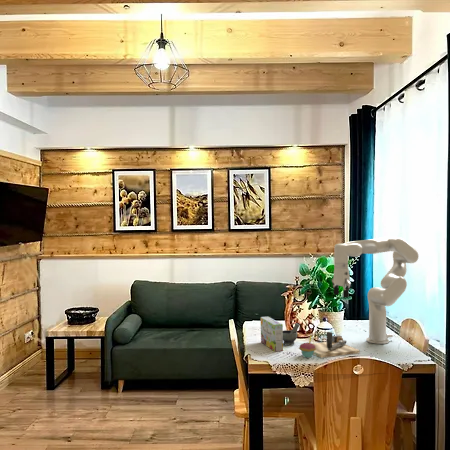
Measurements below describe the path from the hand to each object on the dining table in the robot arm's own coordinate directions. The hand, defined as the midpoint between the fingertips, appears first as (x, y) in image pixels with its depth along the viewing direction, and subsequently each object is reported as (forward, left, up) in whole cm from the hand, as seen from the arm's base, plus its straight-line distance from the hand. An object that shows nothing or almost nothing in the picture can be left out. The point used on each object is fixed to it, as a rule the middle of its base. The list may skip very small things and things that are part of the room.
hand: (341, 295), depth 299 cm
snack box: (+37, -13, -29) cm, 49 cm away
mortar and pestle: (+25, -14, -28) cm, 40 cm away
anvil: (0, -3, -27) cm, 27 cm away
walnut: (+1, 0, -27) cm, 27 cm away
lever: (+8, +9, -26) cm, 29 cm away
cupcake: (+29, +12, -28) cm, 42 cm away
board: (+12, +6, -28) cm, 31 cm away
